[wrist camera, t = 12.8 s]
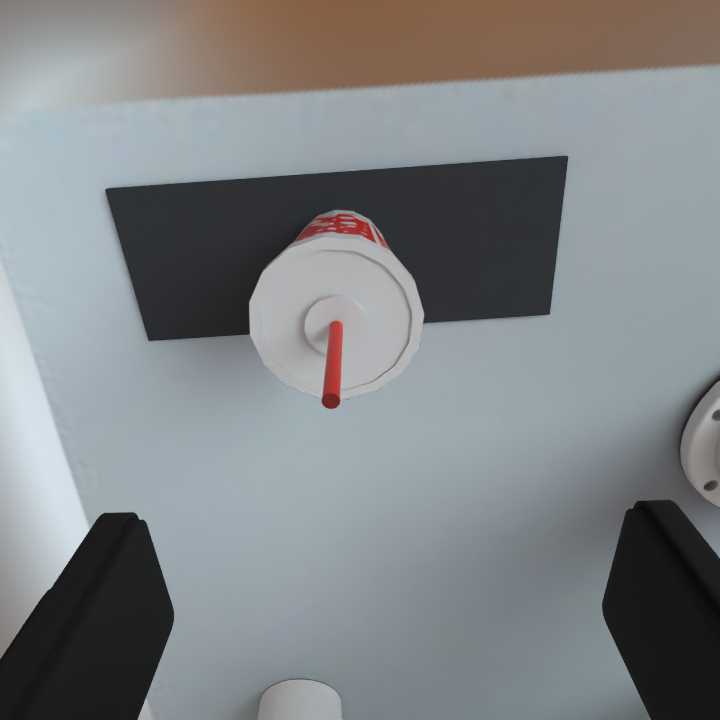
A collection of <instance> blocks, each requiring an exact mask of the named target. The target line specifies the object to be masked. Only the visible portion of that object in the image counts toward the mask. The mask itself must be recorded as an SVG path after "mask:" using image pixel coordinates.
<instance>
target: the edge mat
mask: <svg viewBox="0 0 720 720" xmlns="http://www.w3.org/2000/svg"><path fill="white" fill-rule="evenodd" d="M567 162H568V156H557V157H543V158H529V159H515V160H501V161H487V162H473V163H459V164H445V165H431V166H417V167H403V168H389V169H375V170H361V171H347V172H333V173H319V174H305V175H291V176H277V177H263V178H249V179H235V180H221V181H206V182H192V183H178V184H164V185H150V186H136V187H122V188H108V189H106V194H107V197H108V201H109V204H110V208H111V211H112V215H113V218H114V222H115V225H116V229H117V232H118V236H119V239H120V243H121V246H122V250H123V253H124V257H125V260H126V263H127V267H128V270H129V274H130V277H131V281H132V284H133V288H134V291H135V295H136V298H137V302H138V305H139V309H140V312H141V316H142V319H143V323H144V326H145V330H146V333H147V337H148V340H149V341H155V340H171V339H186V338H201V337H216V336H231V335H246V334H250V316H249V302H250V300H251V297H252V295H253V293H254V290H255V288H256V286H257V283H258V281H259V279H260V276H261V274H262V272H263V270H264V269H265V268H266V266H267V265H268V264H269V263H270V262H272V261H273V260H274V259H275V258H276V257H277V256H278V255H279V254H280V253H281V252H283V251H284V250H285V249H286V248H287V247H288V246H289V245H290V244H291V243H293V242H294V241H295V240H296V238H297V237H298V236H299V234H300V233H301V232H302V230H303V229H304V228H305V227H306V226H307V225H308V224H309V223H310V222H311V221H312V220H314V219H315V218H316V217H317V216H318V215H321V214H324V213H327V212H330V211H333V210H345V211H354V212H356V213H358V214H360V215H362V216H364V217H366V218H368V219H370V221H371V222H372V223H373V224H374V225H375V227H376V228H377V229H378V230H379V231H380V233H381V234H382V236H383V238H384V240H385V241H386V243H387V245H388V247H389V249H390V251H391V252H392V253H393V254H394V255H395V257H396V258H397V259H398V260H399V261H400V263H401V264H402V265H403V266H404V267H405V268H406V270H407V271H408V272H409V273H410V274H411V276H412V278H413V279H414V281H415V284H416V287H417V291H418V294H419V298H420V301H421V305H422V308H423V312H424V320H423V323H428V322H444V321H459V320H474V319H489V318H504V317H519V316H535V315H549V314H550V307H551V298H552V290H553V281H554V273H555V264H556V256H557V247H558V239H559V230H560V222H561V213H562V205H563V196H564V188H565V179H566V171H567Z"/></svg>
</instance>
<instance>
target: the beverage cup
mask: <svg viewBox="0 0 720 720" xmlns="http://www.w3.org/2000/svg"><path fill="white" fill-rule="evenodd" d="M249 316H250V336H251V338H252V340H253V342H254V344H255V346H256V349H257V351H258V353H259V355H260V357H261V359H262V361H263V363H264V364H265V365H266V366H267V367H268V368H269V369H270V370H271V371H272V372H273V373H274V374H275V375H276V376H278V377H279V378H280V379H281V380H282V381H283V382H284V383H285V384H286V385H288V386H290V387H293V388H295V389H297V390H300V391H302V392H305V393H307V394H309V395H312V396H314V397H318V398H322V404H323V405H324V406H325V407H326V408H329V409H333V408H336V407H337V406H338V405H339V404H340V399H350V398H354V397H357V396H361V395H364V394H368V393H371V392H375V391H378V390H380V389H381V388H382V387H384V386H385V385H386V384H388V383H389V382H391V381H392V380H393V379H395V378H396V377H397V376H399V375H400V374H401V373H403V372H404V370H405V369H406V367H407V365H408V364H409V362H410V361H411V359H412V357H413V356H414V354H415V352H416V351H417V349H418V348H419V346H420V340H421V334H422V327H423V320H424V312H423V308H422V305H421V301H420V298H419V294H418V291H417V287H416V284H415V281H414V279H413V278H412V276H411V274H410V273H409V272H408V271H407V270H406V268H405V267H404V266H403V265H402V264H401V263H400V261H399V260H398V259H397V258H396V257H395V255H394V254H393V253H392V252H391V251H390V249H389V247H388V245H387V243H386V241H385V240H384V238H383V236H382V234H381V233H380V231H379V230H378V229H377V228H376V227H375V225H374V224H373V223H372V222H371V221H370V219H368V218H366V217H364V216H362V215H360V214H358V213H356V212H354V211H345V210H333V211H330V212H327V213H324V214H321V215H318V216H317V217H316V218H315V219H314V220H312V221H311V222H310V223H309V224H308V225H307V226H306V227H305V228H304V229H303V230H302V232H301V233H300V234H299V236H298V237H297V238H296V240H295V241H294V242H293V243H291V244H290V245H289V246H288V247H287V248H286V249H285V250H284V251H283V252H281V253H280V254H279V255H278V256H277V257H276V258H275V259H274V260H273V261H272V262H270V263H269V264H268V265H267V266H266V268H265V269H264V270H263V272H262V274H261V276H260V279H259V281H258V283H257V286H256V288H255V290H254V293H253V295H252V297H251V300H250V302H249Z"/></svg>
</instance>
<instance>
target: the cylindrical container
mask: <svg viewBox="0 0 720 720" xmlns="http://www.w3.org/2000/svg"><path fill="white" fill-rule="evenodd" d="M341 705H342V704H341V698H340V696H339V694H338V693H337V692H336V691H335V690H334V689H332V688H331V687H329V686H327V685H325V684H323V683H320V682H317V681H312V680H302V679H298V680H288V681H283V682H280V683H277V684H275V685H273V686H271V687H270V688H268V689H267V690H266V691H265V692H264V693H263V695H262V697H261V701H260V708H259V714H258V720H341Z"/></svg>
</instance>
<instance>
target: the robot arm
mask: <svg viewBox="0 0 720 720" xmlns="http://www.w3.org/2000/svg"><path fill="white" fill-rule="evenodd" d="M680 452H681V464H682V467H683V470H684V473H685V475H686V477H687V478H688V480H689V481H690V482H691V484H692V485H693V486H694V487H695V488H696V490H697V491H698V492H699V493H700V494H701V495H702V496H703V497H704V498H705V499H707V500H708V501H710V502H711V503H713V504H715V505H716V506H718V507H720V380H719V381H718V382H717V383H716V384H715V385H714V386H713V387H712V388H711V389H710V391H709V392H708V393H707V394H706V395H705V396H704V397H703V398H702V399H701V401H700V402H699V404H698V405H697V407H696V408H695V410H694V411H693V413H692V414H691V416H690V418H689V420H688V423H687V425H686V427H685V430H684V432H683V437H682V442H681V447H680ZM602 610H603V615H604V619H605V622H606V624H607V626H608V629H609V631H610V633H611V635H612V637H613V639H614V641H615V644H616V646H617V648H618V650H619V652H620V654H621V656H622V658H623V661H624V663H625V665H626V667H627V669H628V671H629V673H630V676H631V678H632V680H633V682H634V684H635V686H636V688H637V691H638V693H639V695H640V697H641V699H642V701H643V703H644V706H645V708H646V710H647V712H648V714H649V716H650V718H651V720H720V558H719V557H718V556H717V554H716V553H715V552H714V551H713V549H712V548H711V547H710V546H709V544H708V543H707V542H706V541H705V539H704V538H703V537H702V535H701V534H700V533H699V532H698V530H697V529H696V528H695V527H694V525H693V524H692V523H691V522H690V520H689V519H688V518H687V517H686V515H685V514H684V513H683V511H682V510H681V509H680V508H679V506H678V505H677V504H676V503H675V502H673V501H671V500H650V501H637V502H636V503H635V505H634V508H633V509H628V510H627V511H626V513H625V517H624V521H623V525H622V529H621V532H620V536H619V540H618V544H617V548H616V552H615V555H614V559H613V563H612V567H611V571H610V575H609V579H608V582H607V586H606V590H605V594H604V598H603V602H602ZM173 621H174V610H173V606H172V603H171V600H170V596H169V593H168V590H167V587H166V584H165V580H164V577H163V574H162V571H161V568H160V565H159V561H158V558H157V555H156V552H155V549H154V545H153V542H152V539H151V536H150V533H149V530H148V526H147V524H146V522H145V521H144V520H139V518H138V516H137V514H135V513H133V512H127V513H104V514H102V515H100V516H99V518H98V519H97V520H96V522H95V523H94V525H93V526H92V528H91V529H90V531H89V532H88V534H87V535H86V537H85V538H84V540H83V541H82V543H81V544H80V546H79V547H78V549H77V550H76V552H75V553H74V555H73V556H72V558H71V559H70V561H69V562H68V564H67V565H66V567H65V568H64V570H63V572H62V573H61V575H60V576H59V577H58V579H57V580H56V582H55V583H54V585H53V587H52V588H51V589H49V590H48V591H47V592H46V593H45V595H44V596H43V597H42V598H41V600H40V601H39V603H38V604H37V605H36V607H35V609H34V610H33V612H32V613H31V615H30V616H29V617H28V619H27V620H26V622H25V623H24V625H23V626H22V628H21V629H20V631H19V632H18V634H17V635H16V637H15V638H14V640H13V641H12V643H11V644H10V646H9V647H8V649H7V650H6V652H5V653H4V655H3V656H2V658H1V659H0V720H137V719H138V717H139V714H140V712H141V709H142V706H143V704H144V701H145V698H146V696H147V693H148V691H149V688H150V685H151V683H152V680H153V677H154V675H155V672H156V669H157V667H158V664H159V662H160V659H161V656H162V654H163V651H164V648H165V646H166V643H167V640H168V638H169V635H170V632H171V630H172V626H173Z"/></svg>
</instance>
